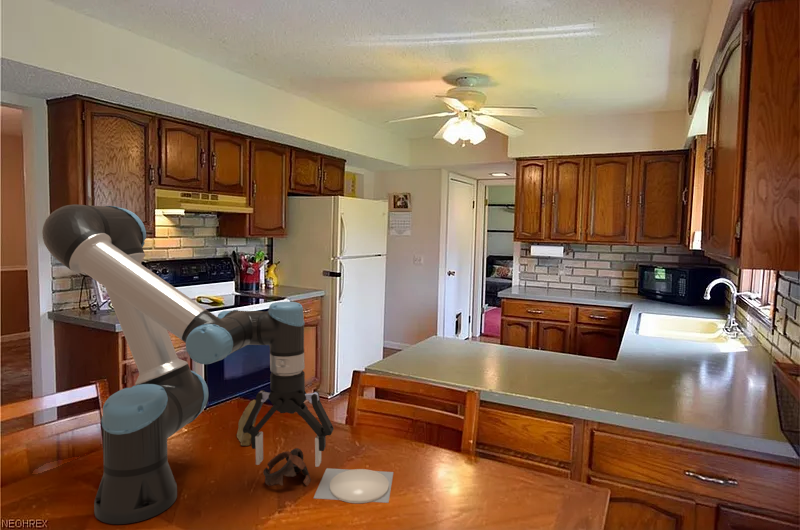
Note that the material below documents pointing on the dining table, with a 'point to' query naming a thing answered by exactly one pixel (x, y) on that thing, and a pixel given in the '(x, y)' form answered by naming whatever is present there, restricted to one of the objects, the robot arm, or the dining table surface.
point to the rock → (244, 437)
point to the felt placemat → (329, 474)
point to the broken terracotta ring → (286, 467)
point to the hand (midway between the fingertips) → (288, 463)
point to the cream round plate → (359, 486)
